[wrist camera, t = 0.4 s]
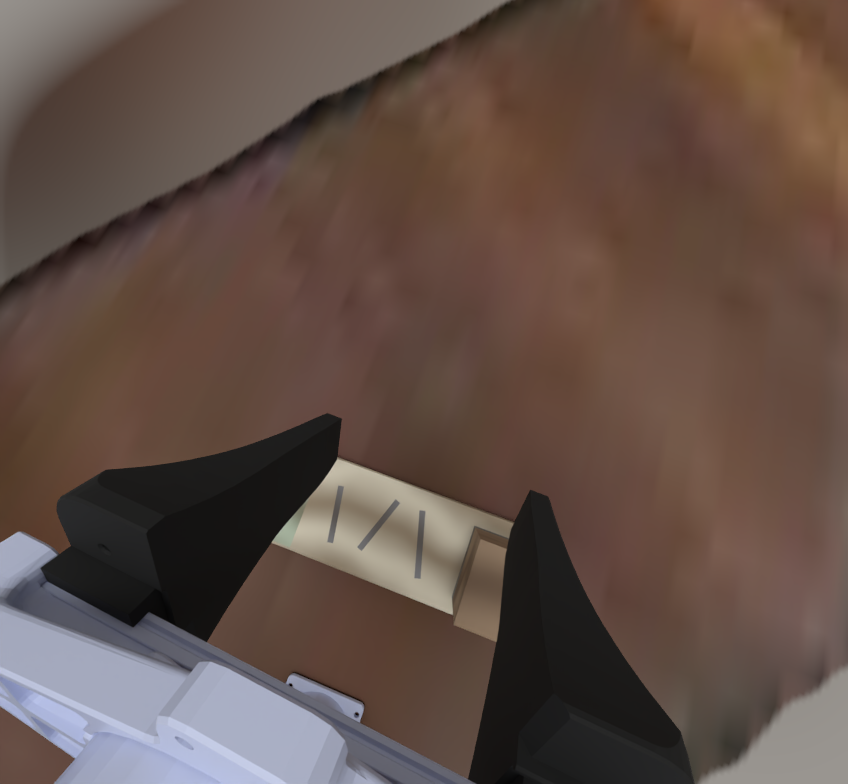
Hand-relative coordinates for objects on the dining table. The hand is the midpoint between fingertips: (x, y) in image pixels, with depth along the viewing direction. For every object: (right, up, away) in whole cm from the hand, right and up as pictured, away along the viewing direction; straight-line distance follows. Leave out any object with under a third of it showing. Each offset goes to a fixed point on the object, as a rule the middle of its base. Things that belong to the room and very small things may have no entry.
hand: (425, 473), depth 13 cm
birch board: (-4, -11, +25) cm, 28 cm away
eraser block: (+6, -14, +23) cm, 28 cm away
